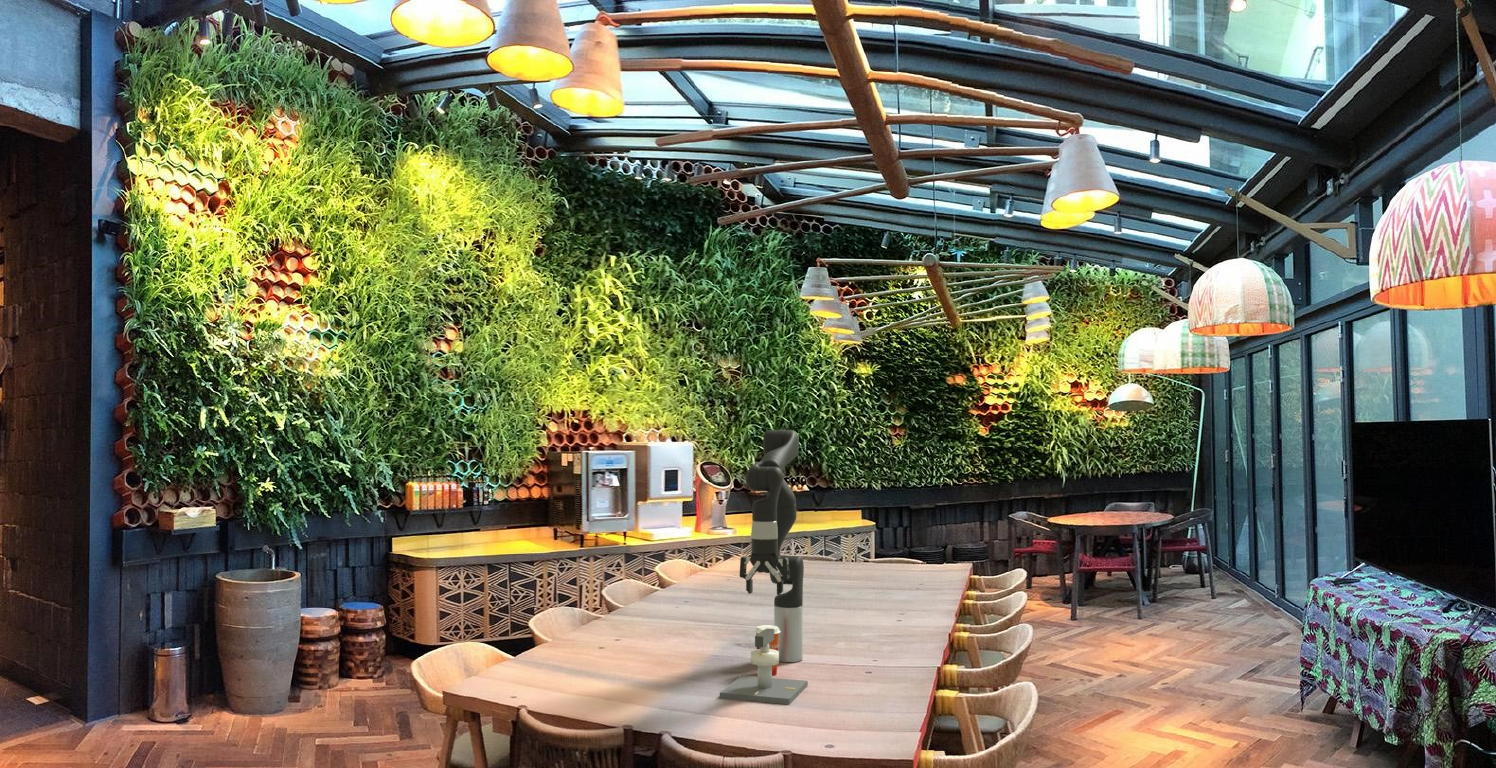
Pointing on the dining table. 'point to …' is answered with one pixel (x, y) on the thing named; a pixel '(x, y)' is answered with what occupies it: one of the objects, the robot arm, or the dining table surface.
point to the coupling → (764, 649)
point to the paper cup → (772, 644)
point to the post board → (764, 688)
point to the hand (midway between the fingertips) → (764, 593)
